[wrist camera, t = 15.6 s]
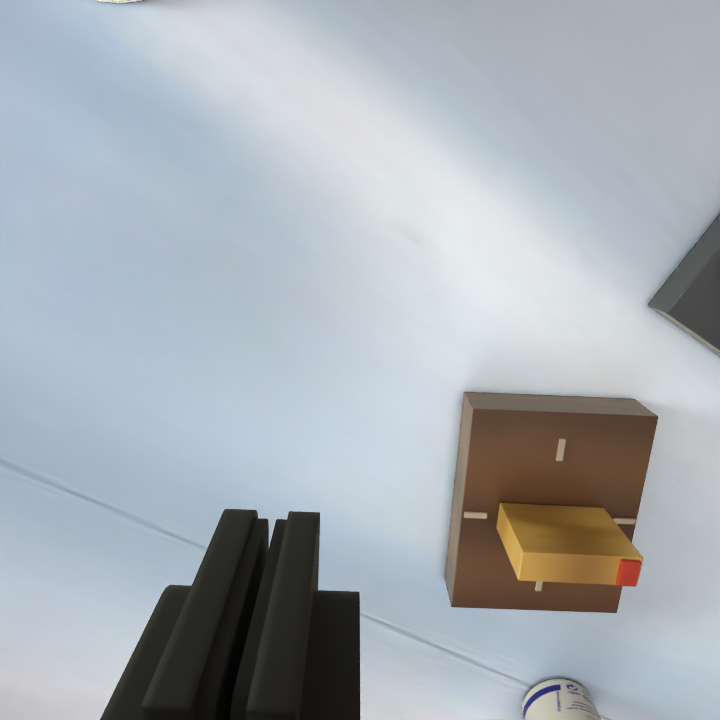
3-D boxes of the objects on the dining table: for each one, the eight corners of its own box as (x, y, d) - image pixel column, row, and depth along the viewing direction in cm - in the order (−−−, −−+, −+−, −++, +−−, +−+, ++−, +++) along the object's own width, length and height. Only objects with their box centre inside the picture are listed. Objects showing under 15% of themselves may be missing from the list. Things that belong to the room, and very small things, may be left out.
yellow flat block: (496, 527, 35) (519, 583, 30) (499, 502, 34) (524, 554, 29) (598, 532, 35) (639, 589, 30) (604, 507, 34) (645, 560, 29)
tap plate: (463, 391, 36) (473, 409, 32) (634, 398, 36) (660, 417, 33) (444, 577, 39) (451, 609, 36) (598, 583, 40) (618, 615, 37)
